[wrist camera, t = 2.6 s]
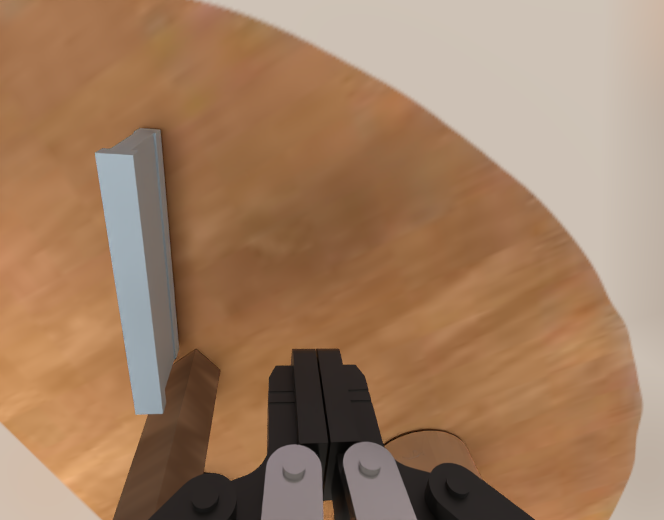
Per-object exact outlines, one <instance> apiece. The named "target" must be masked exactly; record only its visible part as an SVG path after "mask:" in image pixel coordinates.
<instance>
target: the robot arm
mask: <svg viewBox="0 0 664 520" xmlns="http://www.w3.org/2000/svg"><path fill="white" fill-rule="evenodd" d="M267 427H268V428H267V456H266V458H265V460H264V461H263V463H262V464H261V465H260V466H259V467H258V468H257V469H256V470H255V471H253V472H252V473H250V474H248V475H246V476H243V477H241V478H238V479H235V480H232V481H230V480H229V479H228V478H226V477H225V476H223V475H220V474H215V473H207V474H202V475H198V476H196V477H194V478H192V479H191V480H189V481H188V482H186V483H185V484H184V485H183V486H182V487H181V488H180V489H179V490H178V491H177V492H176V493H175V494H174V495H173V496H172V497H171V498H170V499H169V500H168V501H167V502H166V503H165V504H164V505H163V506H162V507H160V508H159V509H158V510H157V511H156V512H155V513H154V514H153V515H152V516H151V517H150V518H149V519H148V520H323V501H326V500H332V501H333V509H334V519H333V520H535V519H533V518H532V517H531V516H529V515H528V514H527V513H526V512H524V511H523V510H522V509H520V508H519V507H518V506H516V505H515V504H514V503H512V502H511V501H510V500H508V499H507V498H506V497H504V496H503V495H502V494H500V493H499V492H498V491H496V490H495V489H494V488H492V487H491V486H490V485H488V484H487V483H486V482H485V481H483V480H482V478H481V476H480V474H479V472H478V470H477V468H476V465H475V463H474V461H473V459H472V457H471V455H470V453H469V451H468V449H467V447H466V445H465V444H464V443H463V442H462V440H460V439H459V438H457V437H456V436H454V435H451V434H449V433H446V432H440V431H420V432H414V433H410V434H407V435H404V436H401V437H399V438H397V439H395V440H393V441H391V442H389V443H388V444H386V445H385V446H384V444H383V442H382V438H381V434H380V431H379V427H378V423H377V420H376V416H375V412H374V409H373V405H372V403H371V397H370V394H369V392H368V386H367V383H366V379H365V376H364V375H363V374H362V372H361V371H360V370H359V369H358V368H357V366H356V365H343V363H342V359H341V354H340V350H339V349H316V351H315V349H292V357H291V366H275V368H274V370H273V372H272V373H271V375H270V377H269V391H268V425H267Z"/></svg>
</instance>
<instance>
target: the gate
mask: <svg viewBox="0 0 664 520" xmlns="http://www.w3.org/2000/svg"><path fill="white" fill-rule="evenodd" d="M95 157H96V164H97V170H98V176H99V183H100V189H101V196H102V202H103V208H104V215H105V221H106V228H107V234H108V240H109V247H110V253H111V260H112V266H113V273H114V279H115V285H116V292H117V298H118V305H119V311H120V317H121V324H122V330H123V337H124V343H125V349H126V356H127V362H128V369H129V375H130V381H131V388H132V394H133V401H134V407H135V414H136V415H137V414H163V412H164V409H165V405H166V395H165V387H166V384H167V381H168V378H169V375H170V371H171V368H172V365H173V362H174V359H176V357H177V354H178V351H179V342H178V330H177V318H176V307H175V295H174V283H173V271H172V260H171V248H170V236H169V225H168V213H167V201H166V189H165V178H164V166H163V154H162V143H161V131H160V129H146V128H139V129H137V130H136V131H134V134H132V135H130V136H129V137H127V138H126V139H124V140H123V141H121V142H120V143H118V144H117V145H115V146H114V147H112V148H111V149H105V148H102V149H100V150H99V151H97V152H95Z"/></svg>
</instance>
